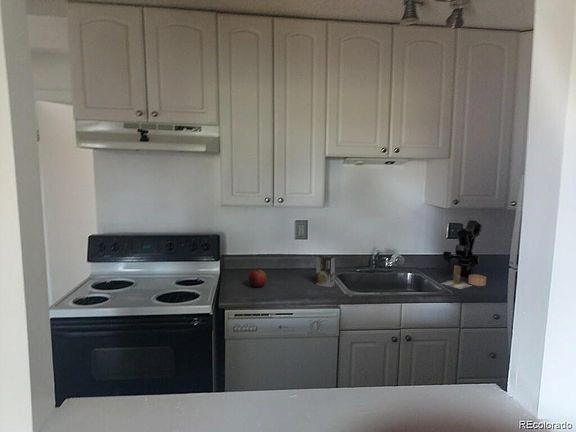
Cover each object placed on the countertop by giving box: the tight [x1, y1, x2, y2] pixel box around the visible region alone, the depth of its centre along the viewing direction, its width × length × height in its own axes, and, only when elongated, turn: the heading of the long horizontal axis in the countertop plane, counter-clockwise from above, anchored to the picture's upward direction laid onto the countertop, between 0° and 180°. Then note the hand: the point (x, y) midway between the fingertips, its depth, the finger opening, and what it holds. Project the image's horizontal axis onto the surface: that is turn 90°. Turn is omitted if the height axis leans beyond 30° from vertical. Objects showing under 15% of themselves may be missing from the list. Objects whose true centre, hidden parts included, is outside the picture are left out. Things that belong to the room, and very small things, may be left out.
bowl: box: [467, 273, 487, 287], centre depth 223 cm, size 9×9×4 cm
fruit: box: [248, 267, 267, 288], centre depth 209 cm, size 11×10×10 cm
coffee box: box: [315, 254, 336, 288], centre depth 214 cm, size 9×6×16 cm
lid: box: [444, 264, 468, 289], centre depth 220 cm, size 12×12×11 cm
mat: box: [440, 282, 472, 290], centre depth 220 cm, size 12×12×1 cm
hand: (457, 269), depth 220 cm, fingers open, 9 cm apart
